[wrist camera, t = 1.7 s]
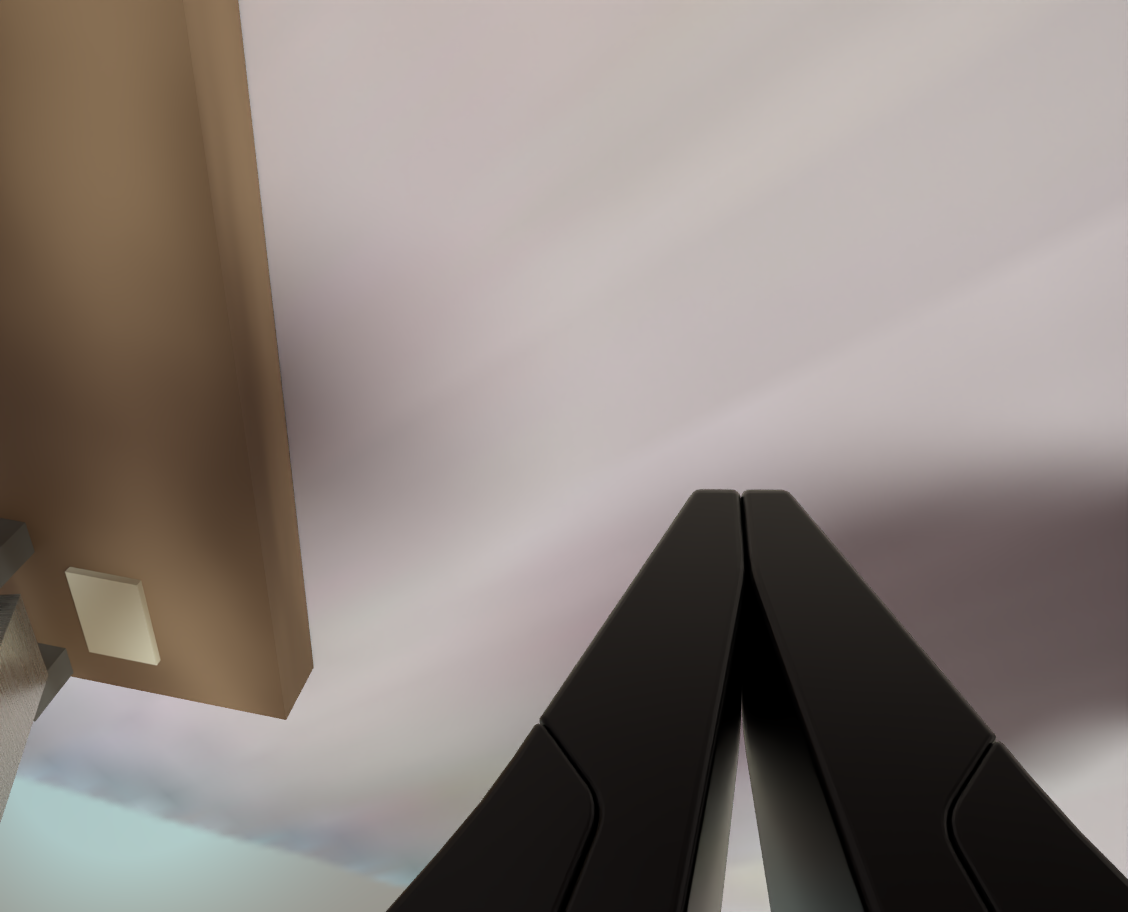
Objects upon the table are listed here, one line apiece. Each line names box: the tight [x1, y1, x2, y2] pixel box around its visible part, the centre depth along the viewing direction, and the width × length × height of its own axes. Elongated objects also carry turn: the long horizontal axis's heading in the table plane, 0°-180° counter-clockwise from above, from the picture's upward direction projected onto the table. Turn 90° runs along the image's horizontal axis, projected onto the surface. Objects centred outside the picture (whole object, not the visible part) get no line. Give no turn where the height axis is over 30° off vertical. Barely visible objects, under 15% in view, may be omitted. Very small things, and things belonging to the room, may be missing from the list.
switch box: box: [0, 0, 313, 721], centre depth 23 cm, size 11×20×4 cm, turn 176°
